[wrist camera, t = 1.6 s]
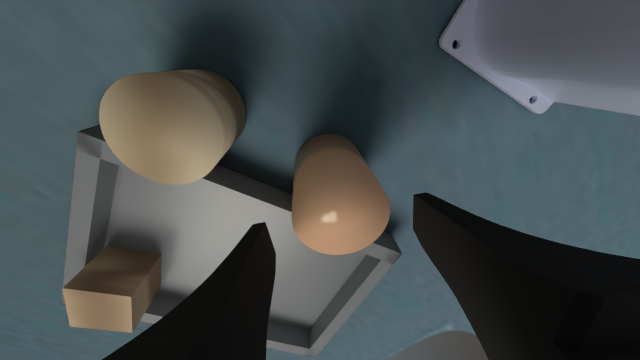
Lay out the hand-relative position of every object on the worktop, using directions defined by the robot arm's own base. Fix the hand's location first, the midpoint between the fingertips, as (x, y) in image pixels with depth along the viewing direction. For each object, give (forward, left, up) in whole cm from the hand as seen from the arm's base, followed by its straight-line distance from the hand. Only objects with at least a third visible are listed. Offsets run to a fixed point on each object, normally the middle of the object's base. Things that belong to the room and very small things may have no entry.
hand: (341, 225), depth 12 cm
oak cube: (+10, +15, -7) cm, 19 cm away
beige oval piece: (+9, 0, -7) cm, 11 cm away
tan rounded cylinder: (0, 0, -7) cm, 7 cm away
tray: (+3, +11, -7) cm, 13 cm away
